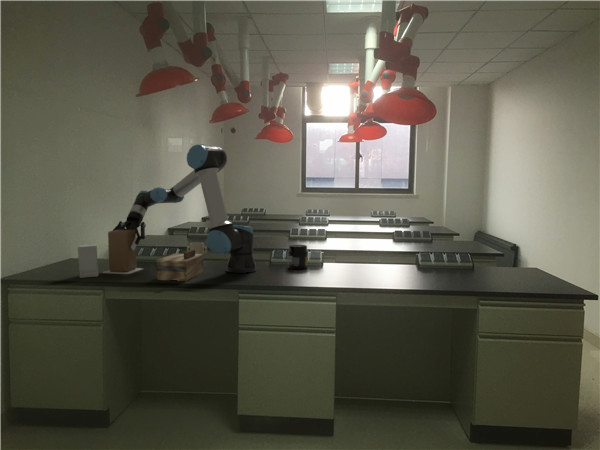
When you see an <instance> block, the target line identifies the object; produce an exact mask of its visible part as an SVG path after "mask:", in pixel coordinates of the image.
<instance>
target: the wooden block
mask: <svg viewBox="0 0 600 450" xmlns="http://www.w3.org/2000/svg"><path fill="white" fill-rule="evenodd" d="M107 237H108V239H107V240H108V243H107V244H108V246H109V247H108V246H107V247H108V269H109V270H110V271H113V272H128V271H131V270H133V269H136V268H138V267H137V247H136V248H135V250H134V251H133V250H132V249H131V245H132V243H133V241H134V239H135V237H137V235H136V231H135V230H114V231H112V230H110V231H108V233H107Z"/></svg>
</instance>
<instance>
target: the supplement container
mask: <svg viewBox="0 0 600 450" xmlns="http://www.w3.org/2000/svg"><path fill="white" fill-rule="evenodd" d="M308 254H309V252H308V245H305V244H290V245H289V246H288V252H287V267H288V269H289V270H294V271H295V270H299V271H300V270H306V269H308V266H309V265H308V262H309V261H308Z"/></svg>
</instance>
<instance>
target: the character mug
mask: <svg viewBox="0 0 600 450" xmlns="http://www.w3.org/2000/svg"><path fill="white" fill-rule="evenodd" d="M190 250H195V254H203V255H204V254H207V253H208V246H205V244H204V242H195V241H193V242H190V243H189V245H187V246H186V252H187V251H190Z"/></svg>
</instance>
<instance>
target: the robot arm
mask: <svg viewBox="0 0 600 450" xmlns="http://www.w3.org/2000/svg"><path fill="white" fill-rule="evenodd" d="M227 162H228V156H227V152H226V151H225V150H224V148H221V146H218V145H207V144H194V145H192V146H191V147H190V148H189V149H188V152H187V154H186V163H187V165H188V166H189V167H190V168H191V169H193V170H191V171H190V173H188V174H187V175H185V176H184V178H182V179H181V180H179V181H178V182H177V183H176V184H175V185H173V186H172V187H171V188H166V189H165V188H164V187H161V186H158V187H154V188H153V189H151V190H149V191H148V190H140V191H139V192H138V194H137V195H136V197H135V199H134V202H133V204H132V206H131V207H130V210H129V212H128V215H127V216H126V220H125V222H123V221H122V220H120V221H119V222H118V224H117V225H116V226H115V227H114V228H113V229H112V230H111V231H114V230H135V231H136V237H135V239H134V241H133V243H132V245H131V249H132V250H133V251H134V250H135V248H136V249H137V245H139V243H140V241H141V240H145V239H146V232H145V231H146V226H147V224H146V223H145V221H143V219H144V217H145V216H146V213H147V212H148V211H147V210H148V209H149V207H153V206H155V205H156V204H177V203H181V202H182V201H184V199H185V196H186V195H187V194H188V193H190V192H191V191H192V190H194V189H195V188H196V187H198V186H199V185H201V190H202V194H203V198H204V202H205V206H206V210H207V214H208V218H209V223H210V225H209V227H208V231H209V233H208V234H207V237H206V244H207V248H209V250H210V251H211V252H212V253H213V254H216V255H226V254H227V255H228V254H229V257H228V260H227V264H226V272H228V273H232V272H233V273H232V274H246V272H249V273H253V272H256V271H257V264H256V260H255V257H254V229H253V228H252V226H247V225H236V224H235V225H234V223H233V222H231V221H230V220H229V218H228V214H227V209H226V206H225V202H224V198H223V197H224V196H223V194H222V190H221V186H220V181H219V177H218V173H219V172H221V170H223V169H224V168H225V166H226V164H227ZM139 227H140V233H139V229H138V228H139ZM107 247H108V248H109V246H107Z"/></svg>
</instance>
